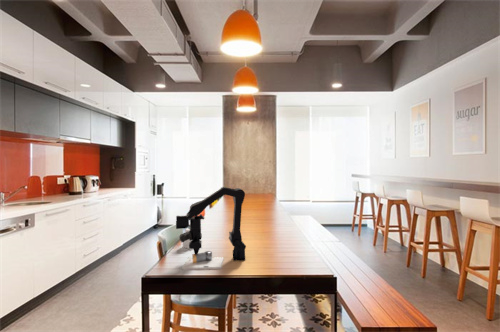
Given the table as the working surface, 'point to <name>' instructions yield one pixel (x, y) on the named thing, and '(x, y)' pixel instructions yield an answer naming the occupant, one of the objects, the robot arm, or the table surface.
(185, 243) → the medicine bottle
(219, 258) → the base
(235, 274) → the table surface
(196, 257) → the lock lever
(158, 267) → the table surface
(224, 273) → the table surface
